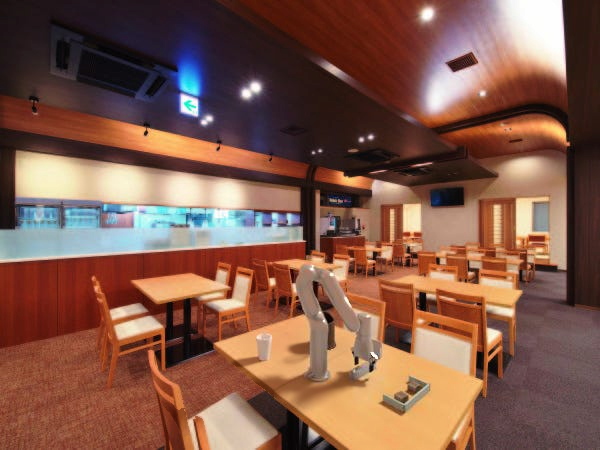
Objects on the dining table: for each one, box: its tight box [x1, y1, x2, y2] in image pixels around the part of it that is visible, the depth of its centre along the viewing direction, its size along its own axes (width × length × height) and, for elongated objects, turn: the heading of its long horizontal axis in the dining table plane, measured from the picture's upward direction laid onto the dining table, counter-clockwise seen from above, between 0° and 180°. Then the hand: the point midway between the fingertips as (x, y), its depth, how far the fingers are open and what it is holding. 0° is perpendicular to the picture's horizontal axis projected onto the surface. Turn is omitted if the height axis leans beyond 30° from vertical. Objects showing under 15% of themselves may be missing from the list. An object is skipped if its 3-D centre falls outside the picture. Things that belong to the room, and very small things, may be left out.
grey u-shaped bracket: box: [382, 374, 431, 414], centre depth 130 cm, size 25×11×4 cm, turn 131°
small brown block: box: [406, 381, 422, 395], centre depth 134 cm, size 5×4×3 cm
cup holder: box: [322, 310, 337, 351], centre depth 182 cm, size 18×24×25 cm
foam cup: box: [255, 333, 273, 362], centre depth 165 cm, size 10×9×13 cm
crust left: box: [393, 390, 409, 404], centre depth 126 cm, size 5×4×3 cm
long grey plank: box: [349, 358, 377, 382], centre depth 149 cm, size 20×2×5 cm, turn 130°
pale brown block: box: [371, 338, 383, 360], centre depth 168 cm, size 4×7×10 cm, turn 53°
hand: (363, 367), depth 149 cm, fingers open, 9 cm apart
